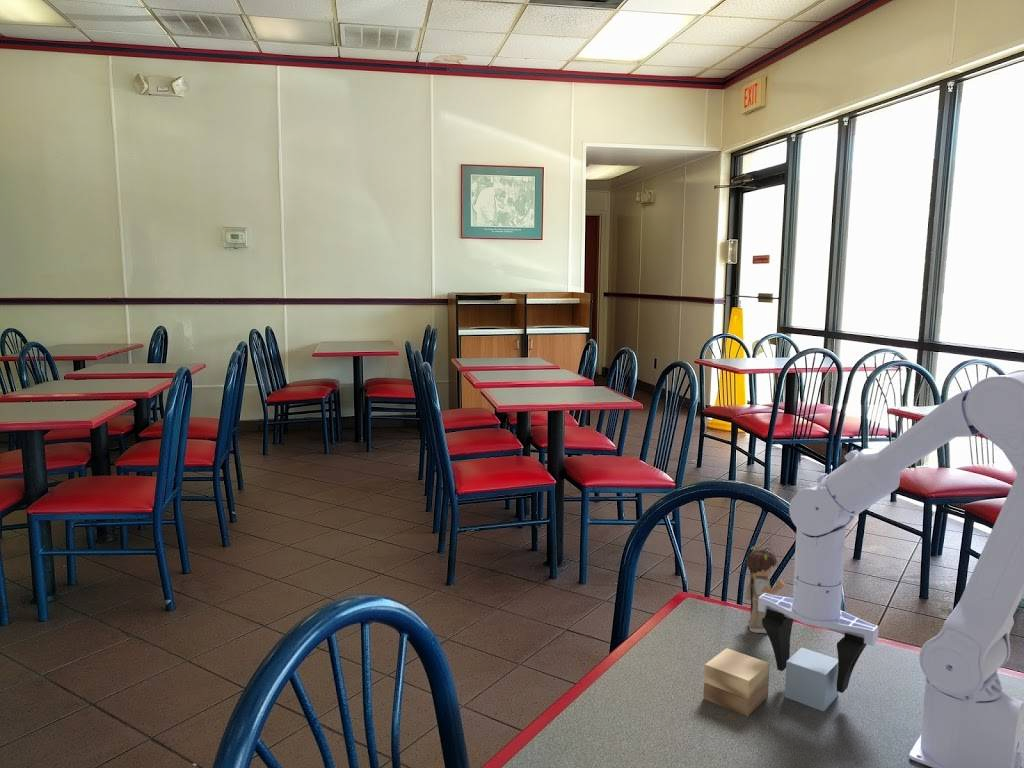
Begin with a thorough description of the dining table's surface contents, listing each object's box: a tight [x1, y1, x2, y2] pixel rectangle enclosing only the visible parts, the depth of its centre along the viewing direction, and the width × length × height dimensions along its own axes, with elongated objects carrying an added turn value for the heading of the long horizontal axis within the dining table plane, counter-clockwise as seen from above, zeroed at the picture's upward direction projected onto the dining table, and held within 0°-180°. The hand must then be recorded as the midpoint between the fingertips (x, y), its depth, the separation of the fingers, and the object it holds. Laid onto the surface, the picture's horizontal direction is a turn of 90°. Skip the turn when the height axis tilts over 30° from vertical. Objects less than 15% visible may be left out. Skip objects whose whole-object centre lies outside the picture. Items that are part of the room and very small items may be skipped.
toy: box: [744, 539, 786, 634], centre depth 115 cm, size 6×6×15 cm
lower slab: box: [703, 681, 770, 717], centre depth 96 cm, size 6×6×2 cm
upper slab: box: [703, 647, 771, 700], centre depth 96 cm, size 6×6×2 cm
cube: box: [784, 647, 839, 712], centre depth 96 cm, size 5×5×5 cm
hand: (811, 678), depth 96 cm, fingers open, 7 cm apart
